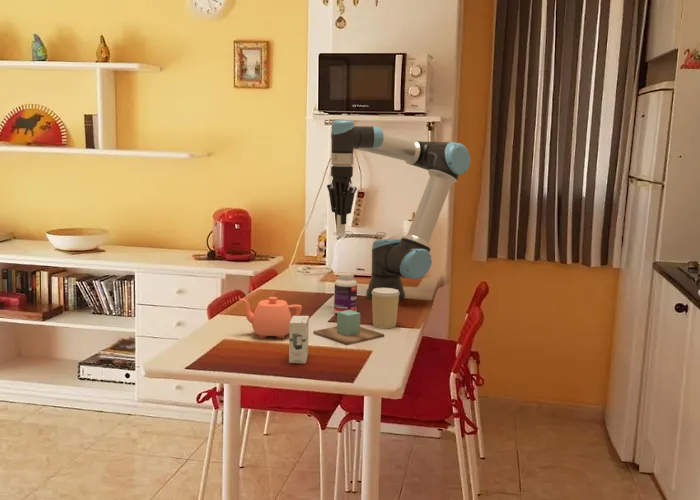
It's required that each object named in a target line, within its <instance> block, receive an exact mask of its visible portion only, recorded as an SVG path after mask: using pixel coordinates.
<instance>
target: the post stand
mask: <svg viewBox="0 0 700 500" xmlns="http://www.w3.org/2000/svg"><path fill="white" fill-rule="evenodd" d="M312 332H313V334H314V335H315V336H316V335H317V336H319V337H322V338H324V339H329V340H331V341H334V342H336V343H340V344H342V345H345V346H349V345H353V344H357V343H361V342H366V341H371V340H375V339H379V338H384V337H385V334H384V333H381V332H378V331H375V330H372V329H369V328H366V327H362V326H360V333H359V334H354V335H349V336H346V335H343V334H341V333H338V332H337V325H336V326H331V327H326V328H321V329H318V330H313V331H312Z"/></svg>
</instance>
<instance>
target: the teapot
mask: <svg viewBox="0 0 700 500" xmlns="http://www.w3.org/2000/svg"><path fill="white" fill-rule="evenodd" d="M238 300H239V301H241V302H242V304H243V307H244V312H245V318H246V319H247V320H246V321H247V322H249V323H250V324H251V326H252V329H253V332H254V333H255V334H256V335H257V336H258V338H259V339H266V338H267V337H276V338H277V339H279V338H280V339H279V340H281V338H282V339H285V338H286V337H285V336H287V335H288V334H289V330H290V321H291V319H292V317H293V316H301V312H302V310H303V306H302V305H301V304H288V302H287V301H286V300H283V299H278V297H276V296H269V297H268V298H267V299H262V300H260V301H259V302H258V304H257V306H256V308H255V311H254V312H252V311H251V307H250V303H249V300H247V299H245V298H240V297H239V298H238ZM291 309H295V313H294V315H292V311H291Z"/></svg>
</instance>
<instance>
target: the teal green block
mask: <svg viewBox="0 0 700 500" xmlns="http://www.w3.org/2000/svg"><path fill="white" fill-rule="evenodd" d="M336 315H337V316H336V326H337V332H338V333H341V334H343V335H346V336H349V335H354V334H359V333H360V327H361V312H359V311H356V312H355V311H352V310H346V311H341V312H337V313H336Z"/></svg>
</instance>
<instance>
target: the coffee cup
mask: <svg viewBox="0 0 700 500" xmlns="http://www.w3.org/2000/svg"><path fill="white" fill-rule="evenodd" d="M399 294H400V293H399V291H398V290H397V289H393V288H375V289H373V291H372V299H371V304H372V305H371V306H372V307H371V308H372V309H371V310H372V325H373V326H374V327H375V328H380V329H392V328H395V327H396V326H397V317H398V310H399V309H398V308H399V301H400V300H399Z"/></svg>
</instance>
